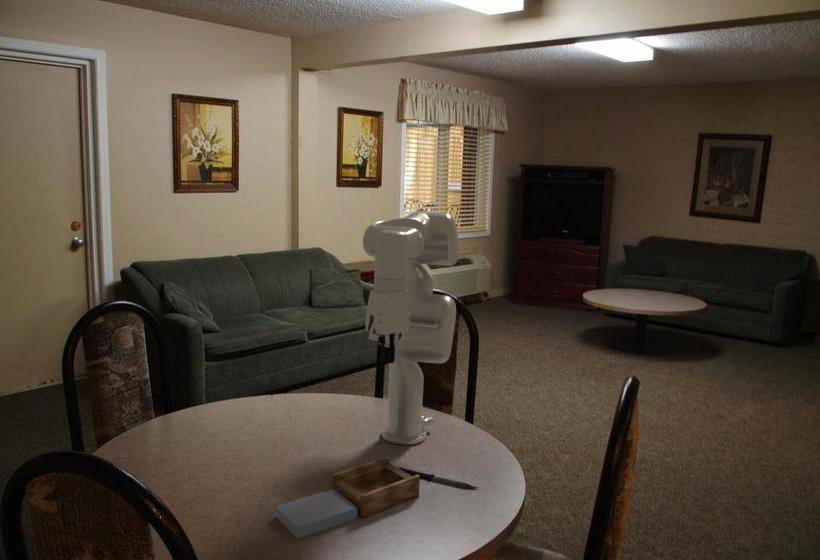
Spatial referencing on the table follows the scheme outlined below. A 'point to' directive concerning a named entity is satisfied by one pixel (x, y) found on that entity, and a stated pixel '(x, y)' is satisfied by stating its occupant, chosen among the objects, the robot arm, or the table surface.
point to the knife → (437, 479)
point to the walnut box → (375, 486)
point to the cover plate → (316, 513)
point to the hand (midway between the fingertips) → (387, 361)
